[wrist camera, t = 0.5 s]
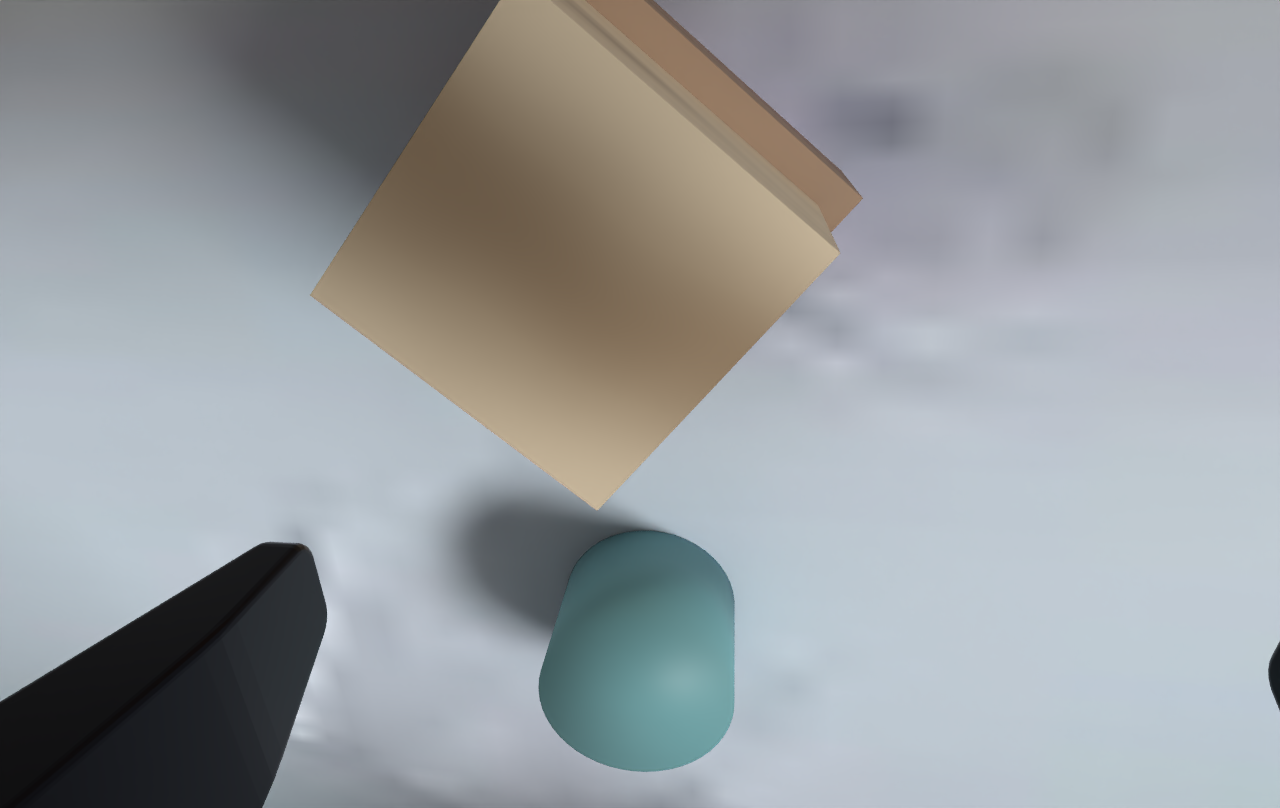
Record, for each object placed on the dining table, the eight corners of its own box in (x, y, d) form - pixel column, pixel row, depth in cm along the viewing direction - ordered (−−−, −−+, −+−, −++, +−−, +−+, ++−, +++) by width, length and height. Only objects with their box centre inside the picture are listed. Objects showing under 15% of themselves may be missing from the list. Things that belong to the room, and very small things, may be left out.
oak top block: (626, 417, 18) (597, 510, 15) (401, 241, 17) (309, 295, 14) (818, 205, 16) (840, 253, 12) (572, -12, 15) (517, -28, 11)
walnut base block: (651, 377, 22) (633, 442, 19) (438, 204, 21) (373, 238, 17) (840, 169, 20) (862, 198, 16) (608, -41, 18) (575, -62, 15)
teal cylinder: (661, 694, 26) (648, 800, 23) (534, 604, 25) (501, 698, 22) (770, 599, 24) (776, 697, 21) (637, 498, 23) (619, 581, 20)
